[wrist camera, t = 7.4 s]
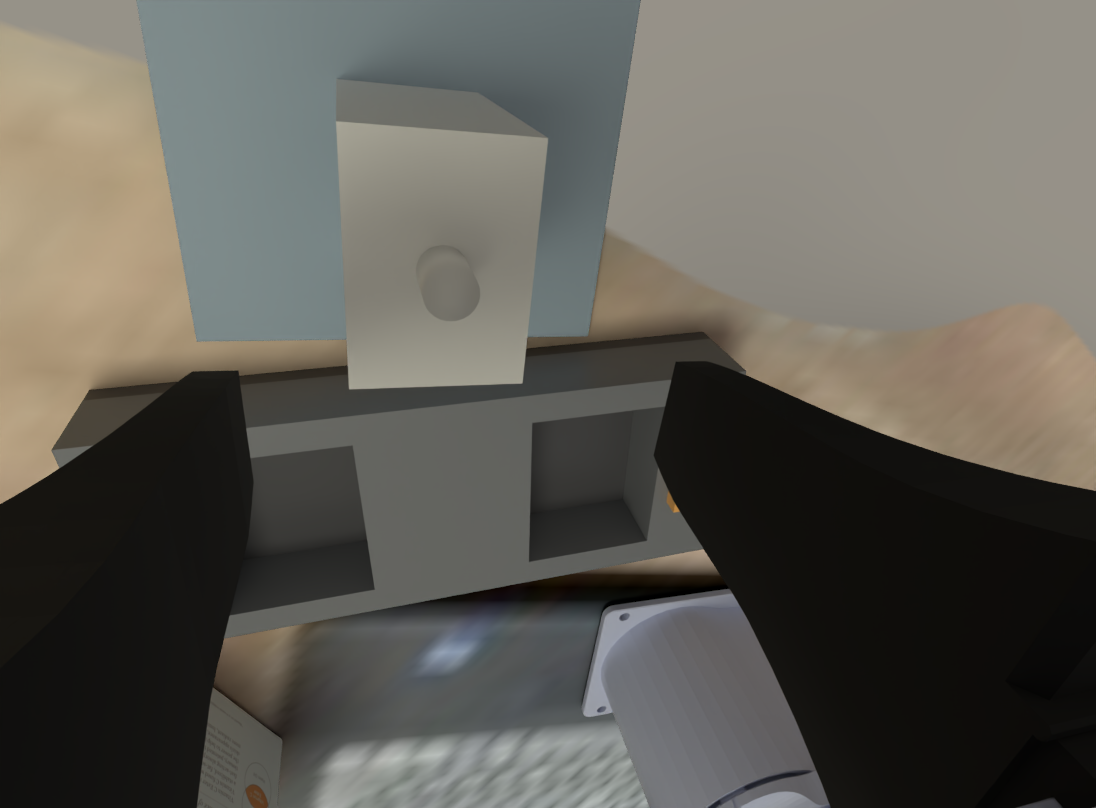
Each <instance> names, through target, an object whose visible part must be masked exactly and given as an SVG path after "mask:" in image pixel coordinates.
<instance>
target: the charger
mask: <svg viewBox="0 0 1096 808" xmlns="http://www.w3.org/2000/svg"><path fill="white" fill-rule="evenodd" d="M336 133H337V153H338V174H339V194H340V215H341V235H342V256H343V276H344V297H345V317H346V338H347V358H348V379H349V389H376V388H405V387H434V386H463V385H492V384H521V383H523V374H524V364H525V355H526V345H527V336H528V326H529V317H530V307H531V298H532V288H533V279H534V269H535V260H536V250H537V241H538V231H539V222H540V212H541V203H542V193H543V184H544V174H545V165H546V155H547V146H548V138H547V137H546V136H544V135H543V134H541V133H540V132H538V131H537V130H535V129H533V128H532V127H530V126H529V125H527V124H526V123H524V122H523V121H521V120H520V119H518V118H517V117H515V116H513V115H512V114H510V113H509V112H507V111H506V110H504V109H503V108H501V107H500V106H498V105H496V104H495V103H493V102H492V101H490V100H489V99H487V98H486V97H484V96H483V95H481V94H480V93H478V92H467V91H457V90H447V89H436V88H426V87H416V86H406V85H395V84H385V83H375V82H365V81H354V80H344V79H336Z"/></svg>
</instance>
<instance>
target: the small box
mask: <svg viewBox="0 0 1096 808" xmlns="http://www.w3.org/2000/svg"><path fill="white" fill-rule="evenodd" d="M281 754H282V739H281V738H280V737H278V736H277V735H275V734H274V733H273V732H271V731H270V730H269V729H267V728H266V727H265V726H263V725H262V724H261V723H259V722H258V721H257V720H255V719H254V718H253V717H251V716H250V715H249V714H248V713H246V712H245V711H244V710H242V709H241V708H240V707H238V706H237V705H236V704H234V703H233V702H232V701H231V700H229V699H228V698H227V697H225V696H224V695H222V694H221V693H220V692H218V691H217V690H216V689H214V688H213V690H212V695H211V700H210V707H209V715H208V723H207V730H206V738H205V746H204V753H203V761H202V769H201V777H200V786H199V794H198V803H197V808H277V805H278V792H279V779H280V766H281Z"/></svg>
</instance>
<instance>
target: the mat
mask: <svg viewBox="0 0 1096 808" xmlns="http://www.w3.org/2000/svg"><path fill="white" fill-rule="evenodd" d="M640 1H641V0H137V6H138V12H139V18H140V23H141V29H142V34H143V40H144V46H145V52H146V57H147V63H148V69H149V74H150V80H151V85H152V91H153V97H154V102H155V108H156V114H157V119H158V125H159V131H160V136H161V142H162V148H163V153H164V159H165V165H166V170H167V176H168V182H169V187H170V193H171V199H172V204H173V210H174V215H175V221H176V227H177V232H178V238H179V244H180V249H181V255H182V261H183V266H184V272H185V278H186V283H187V289H188V295H189V300H190V306H191V312H192V317H193V323H194V328H195V334H196V340H197V341H270V340H346V339H347V338H346V317H345V297H344V276H343V256H342V235H341V215H340V194H339V174H338V153H337V133H336V79H344V80H354V81H365V82H375V83H385V84H395V85H406V86H416V87H426V88H436V89H447V90H457V91H467V92H478V93H480V94H481V95H483V96H484V97H486V98H487V99H489V100H490V101H492V102H493V103H495V104H496V105H498V106H500V107H501V108H503V109H504V110H506V111H507V112H509V113H510V114H512V115H513V116H515V117H517V118H518V119H520V120H521V121H523V122H524V123H526V124H527V125H529V126H530V127H532V128H533V129H535V130H537V131H538V132H540V133H541V134H543V135H544V136H546V137H547V138H548V146H547V155H546V165H545V174H544V184H543V193H542V203H541V212H540V222H539V231H538V241H537V250H536V260H535V269H534V279H533V288H532V298H531V307H530V317H529V326H528V336H527V337H574V336H588V333H589V327H590V320H591V314H592V307H593V301H594V295H595V288H596V282H597V276H598V269H599V263H600V256H601V250H602V244H603V237H604V231H605V224H606V218H607V211H608V204H609V199H610V193H611V186H612V179H613V173H614V166H615V160H616V154H617V148H618V141H619V135H620V128H621V122H622V116H623V110H624V103H625V96H626V90H627V84H628V78H629V70H630V64H631V58H632V52H633V46H634V39H635V33H636V27H637V20H638V14H639V7H640Z"/></svg>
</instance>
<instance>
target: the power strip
mask: <svg viewBox="0 0 1096 808" xmlns="http://www.w3.org/2000/svg"><path fill="white" fill-rule="evenodd" d="M682 361H708V362H711V363H715V364H718V365H721V366H724V367H727V368H729V369H732V370H734V371H737V372H739V373H742V374H744V375H745V374H746V371H745V370H744V369H743V368H742V367H741V366H740V365H739V364H738V363H737V362H736V361H734V360H733V359H732V358H731V357H730V356H729V355H728V354H727V353H726V352H725V351H723V350H722V349H721V348H720V347H719V346H718V345H717V344H716V343H715V342H714V341H712V340H711V339H710V338H709V337H708V336H707V335H706V334H705V333H704V332H696V333H686V334H675V335H664V336H654V337H643V338H633V339H622V340H612V341H601V342H591V343H580V344H570V345H559V346H549V347H538V348H528V349H526V355H525V364H524V374H523V383H521V384H492V385H463V386H434V387H405V388H376V389H349V379H348V366H338V367H328V368H317V369H307V370H296V371H286V372H275V373H265V374H254V375H244V376H239V379H240V386H241V394H242V401H243V408H244V415H245V422H246V430H247V437H248V444H249V451H250V458H251V466H252V473H253V480H254V485H253V496H252V508H251V518H250V528H249V537H248V542H247V546H246V550H245V554H244V559H243V563H242V567H241V571H240V575H239V580H238V584H237V588H236V592H235V596H234V600H233V604H232V608H231V612H230V616H229V620H228V624H227V628H226V632H225V636H224V638H229V637H235V636H240V635H245V634H251V633H256V632H261V631H267V630H272V629H277V628H283V627H288V626H294V625H299V624H304V623H310V622H315V621H320V620H326V619H331V618H336V617H342V616H347V615H352V614H358V613H363V612H369V611H374V610H379V609H385V608H390V607H395V606H401V605H406V604H411V603H417V602H422V601H427V600H433V599H438V598H444V597H449V596H454V595H460V594H465V593H470V592H476V591H481V590H486V589H492V588H497V587H502V586H508V585H513V584H519V583H524V582H529V581H535V580H540V579H545V578H551V577H556V576H561V575H567V574H572V573H577V572H583V571H588V570H594V569H599V568H604V567H610V566H615V565H620V564H626V563H631V562H636V561H642V560H647V559H652V558H658V557H663V556H669V555H674V554H679V553H685V552H690V551H695V550H701V549H703V547H702V546H701V544H700V543H699V541H698V539H697V538H696V536H695V535H694V533H693V532H692V530H691V528H690V527H689V525H688V524H687V522H686V521H685V519H684V517H683V516H682V514H681V513H680V511H679V509H678V508H677V506H676V504H675V503H674V501H673V499H672V497H671V495H670V493H669V491H668V489H667V486H666V484H665V482H664V480H663V477H662V475H661V473H660V470H659V468H658V465H657V463H656V460H655V458H654V456H653V455H654V451H655V447H656V442H657V438H658V434H659V430H660V426H661V421H662V417H663V413H664V409H665V405H666V400H667V396H668V392H669V388H670V384H671V379H672V375H673V371H674V367H675V363H676V362H682ZM176 383H177V382H170V383H159V384H149V385H138V386H128V387H117V388H107V389H96V390H89V392H88V393H87V395H86V396H85V398H84V400H83V401H82V403H81V404H80V406H79V407H78V409H77V411H76V412H75V414H74V415H73V417H72V419H71V420H70V422H69V423H68V425H67V426H66V428H65V430H64V431H63V433H62V434H61V436H60V438H59V439H58V441H57V442H56V444H55V445H54V447H53V449H52V453H53V455H54V457H55V459H56V461H57V464H58V466H59V468H61V467H62V466H64V465H65V464H67V463H68V462H70V461H71V460H73V459H74V458H75V457H77V456H78V455H80V454H81V453H83V452H84V451H86V450H87V449H89V448H90V447H92V446H93V445H95V444H96V443H98V442H99V441H101V440H102V439H104V438H105V437H107V436H108V435H109V434H111V433H112V432H113V431H115V430H116V429H117V428H119V427H120V426H121V425H123V424H124V423H125V422H127V421H128V420H129V419H131V418H132V417H133V416H135V415H136V414H137V413H138V412H140V411H141V410H142V409H144V408H145V407H146V406H148V405H149V404H150V403H152V402H153V401H154V400H155V399H157V398H158V397H159V396H160V395H162V394H163V393H164V392H166V391H167V390H168V389H169V388H171V387H172V386H173V385H175V384H176Z"/></svg>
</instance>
